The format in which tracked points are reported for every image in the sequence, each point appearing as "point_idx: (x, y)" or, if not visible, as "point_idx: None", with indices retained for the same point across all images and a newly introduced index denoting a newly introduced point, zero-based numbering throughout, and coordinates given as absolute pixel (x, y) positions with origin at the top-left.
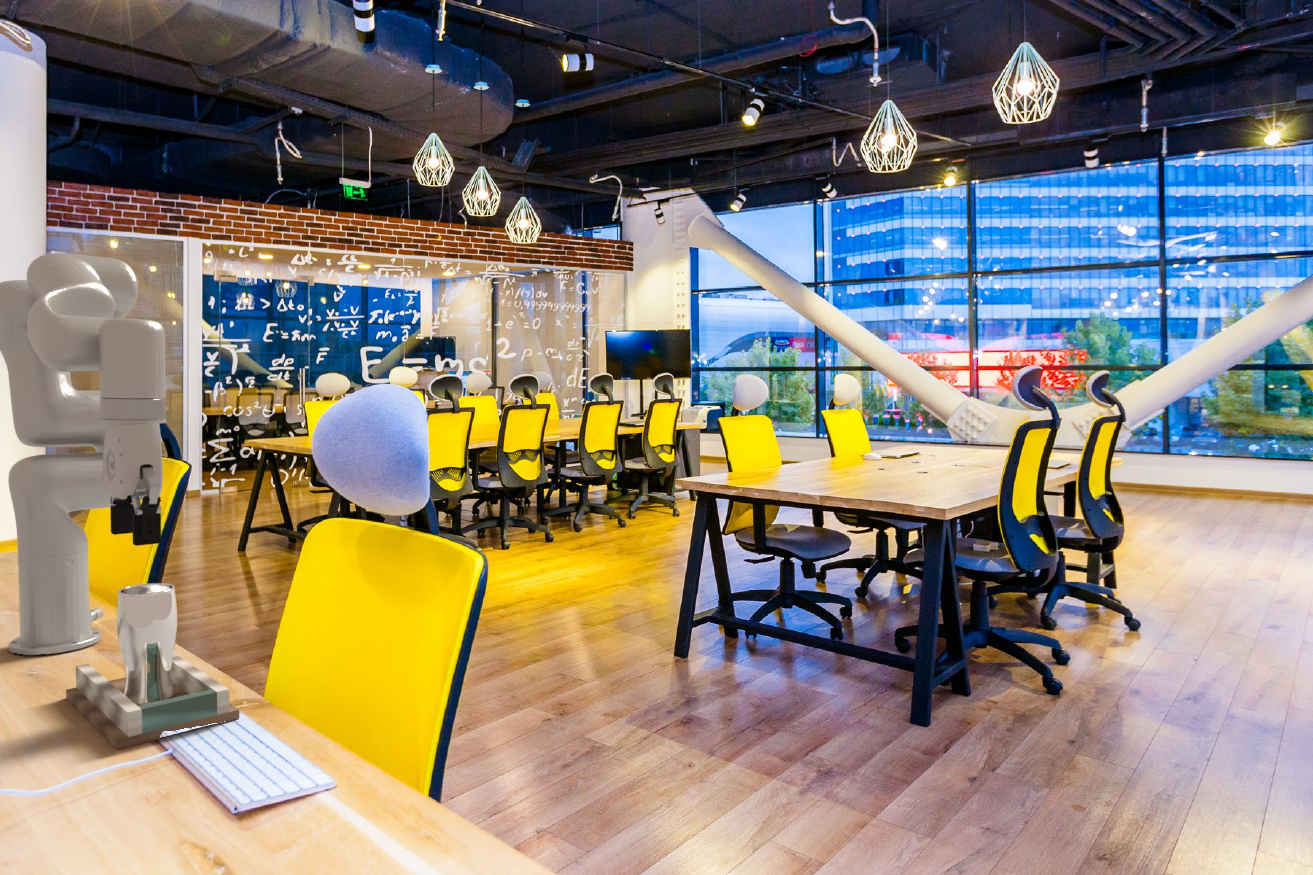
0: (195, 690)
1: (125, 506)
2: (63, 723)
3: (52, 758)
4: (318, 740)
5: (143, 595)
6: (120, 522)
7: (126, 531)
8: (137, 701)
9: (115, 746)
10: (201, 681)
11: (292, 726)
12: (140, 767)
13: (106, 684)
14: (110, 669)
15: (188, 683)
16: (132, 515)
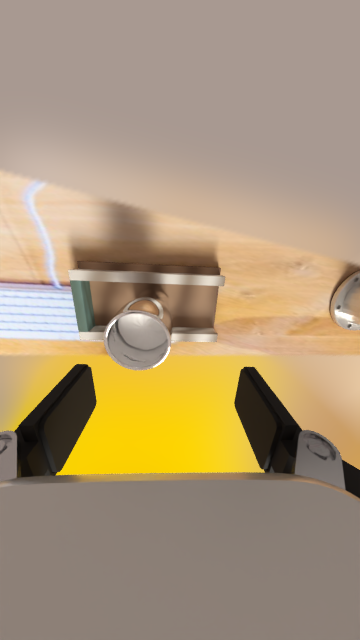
0: None
1: (268, 449)
2: (162, 250)
3: (92, 223)
4: (23, 353)
5: (105, 329)
6: (249, 398)
7: (238, 390)
8: (139, 294)
9: (84, 261)
10: None
11: (57, 352)
12: (38, 262)
13: (154, 279)
14: (261, 310)
15: None
16: (33, 424)
